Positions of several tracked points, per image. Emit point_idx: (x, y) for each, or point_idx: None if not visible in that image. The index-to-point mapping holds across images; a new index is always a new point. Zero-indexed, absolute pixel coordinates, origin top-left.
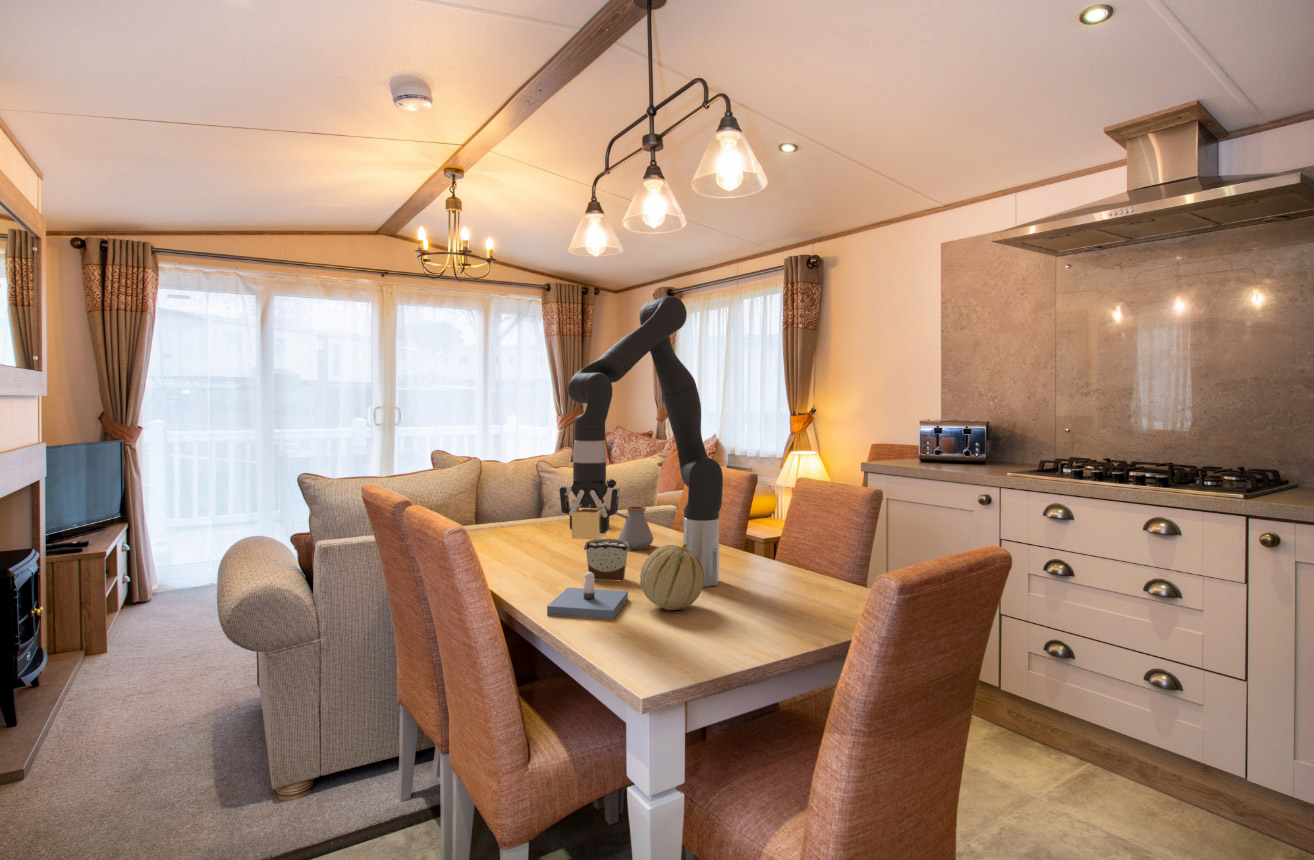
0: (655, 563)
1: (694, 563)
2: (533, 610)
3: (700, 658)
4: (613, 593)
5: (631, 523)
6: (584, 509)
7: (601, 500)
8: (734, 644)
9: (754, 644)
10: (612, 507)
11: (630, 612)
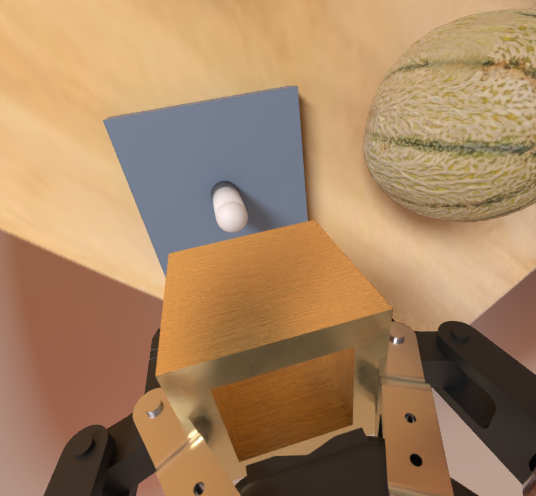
0: (458, 215)
1: None
2: (118, 259)
3: (445, 306)
4: (266, 127)
5: None
6: (219, 380)
7: (413, 439)
8: (492, 251)
9: (518, 239)
10: (471, 410)
11: (324, 183)
